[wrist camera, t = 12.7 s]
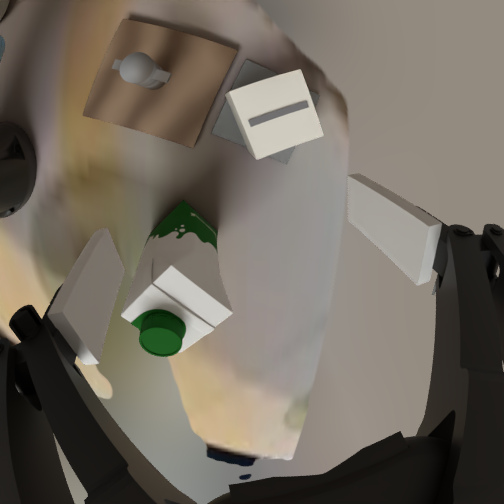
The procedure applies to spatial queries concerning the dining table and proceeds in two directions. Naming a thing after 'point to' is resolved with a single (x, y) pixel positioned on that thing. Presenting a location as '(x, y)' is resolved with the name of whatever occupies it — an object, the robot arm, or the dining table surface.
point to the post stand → (158, 81)
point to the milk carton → (177, 285)
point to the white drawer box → (275, 113)
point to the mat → (227, 121)
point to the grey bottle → (3, 7)
